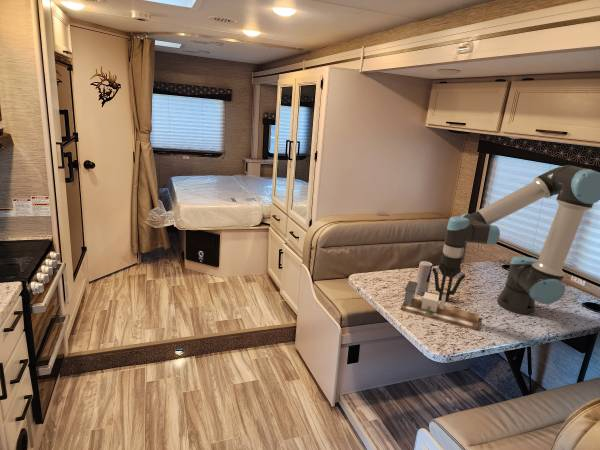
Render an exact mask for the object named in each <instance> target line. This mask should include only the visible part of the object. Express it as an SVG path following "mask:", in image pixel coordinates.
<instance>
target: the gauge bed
mask: <svg viewBox="0 0 600 450" xmlns="http://www.w3.org/2000/svg"><path fill="white" fill-rule="evenodd" d="M422 301H423V299H418V298H415V297H414V300H413V303H412V305H411V307H409V306H404V305H403V304H404V301H403V302H402V304H401V306H400V311H403V312H407V313H410V314H414V315H418V316H422V317H425V318H430V319H433V320H437V321H440V322H444V323H449V324H452V325H456V326H459V327H463V328H466V329H470V330H475V331H478V329H479V316H480V314H478V313H474V312H469V311H467V310H463V309H462V310H461V309H459V308H458V309H457V308H454V307H451V306H447V305H446V306H445V305H444V309H440V304H439V303H438V307H437V310H436V312H432V311H427V310H425V309H421V306H422Z"/></svg>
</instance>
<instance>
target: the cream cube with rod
mask: <svg viewBox="0 0 600 450" xmlns="http://www.w3.org/2000/svg"><path fill="white" fill-rule="evenodd" d="M422 300H423V301H422V306H421V309H425V310H427V311H432V312H436V310H437V307H438V304H439V301H440V300H439V294H435V293H431V292H425V294H424V295H423V296H422Z"/></svg>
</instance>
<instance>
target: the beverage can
mask: <svg viewBox="0 0 600 450" xmlns="http://www.w3.org/2000/svg"><path fill="white" fill-rule="evenodd" d="M432 269H433V263H431V262H430V261H427V260H425V261H424V260H422V261H420V262H419V265H418V272H417V276H416V281H415V282H417V283H418V285H417V287H416V291H415V294H417V295H421V296H424V294H425V292H427V293H429V287H430V281H431V275H432V271H433V270H432Z"/></svg>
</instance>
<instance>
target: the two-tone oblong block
mask: <svg viewBox="0 0 600 450" xmlns="http://www.w3.org/2000/svg"><path fill="white" fill-rule="evenodd" d="M417 285H418V283H417V282H416V281H412V280H408V282H407V284H406V286H405V288H404V291H405V293H404V299H403V302H404V304H403V303H402V304H403V305H404V306H409V307H411V305H412V303H413V300H414V298H415V296H416V292H415V291H416V287H417Z"/></svg>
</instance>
